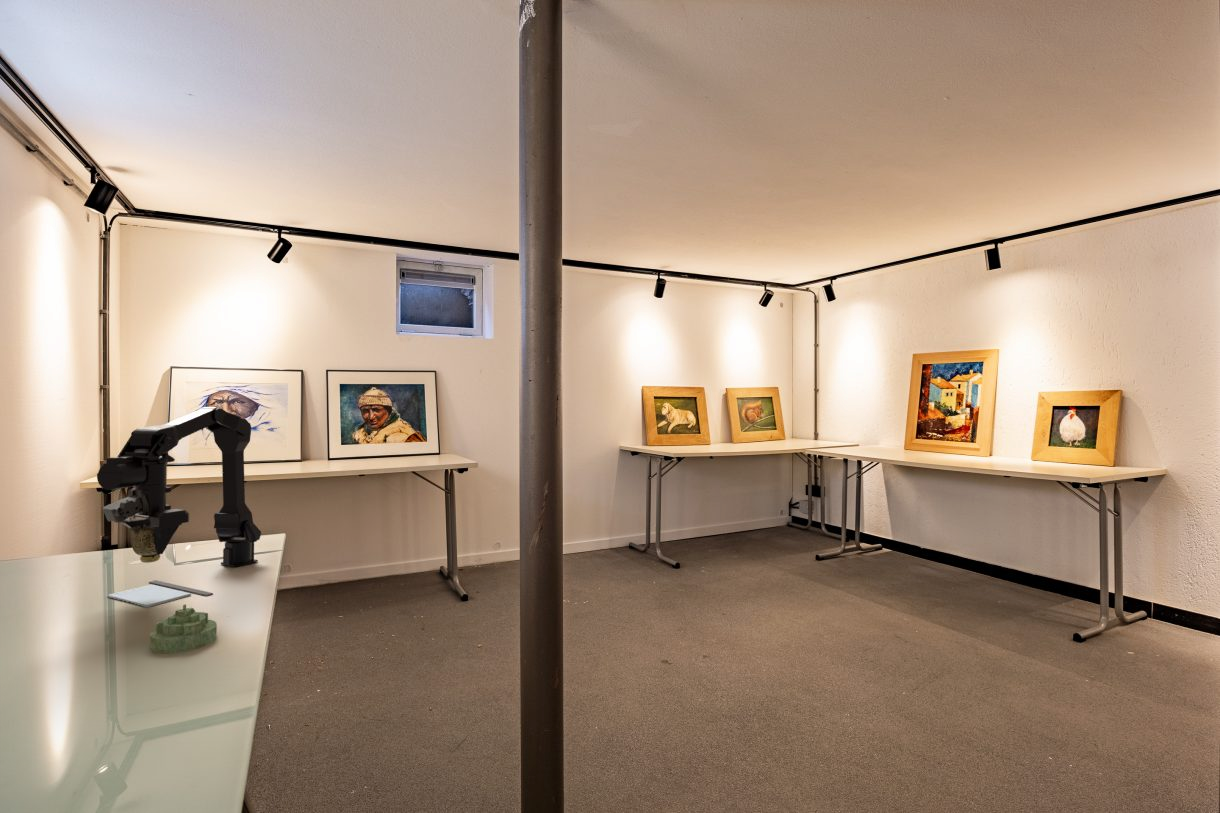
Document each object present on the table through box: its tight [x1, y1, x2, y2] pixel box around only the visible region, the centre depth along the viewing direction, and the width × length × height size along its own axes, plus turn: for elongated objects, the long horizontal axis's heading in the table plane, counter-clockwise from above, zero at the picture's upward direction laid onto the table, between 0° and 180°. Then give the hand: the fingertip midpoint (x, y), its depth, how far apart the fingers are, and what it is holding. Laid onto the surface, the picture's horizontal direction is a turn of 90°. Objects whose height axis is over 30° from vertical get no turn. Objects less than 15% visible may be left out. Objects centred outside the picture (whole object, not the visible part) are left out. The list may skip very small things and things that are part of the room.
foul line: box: [148, 579, 214, 597], centre depth 142 cm, size 2×22×1 cm, turn 66°
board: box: [106, 583, 192, 608], centre depth 136 cm, size 9×15×1 cm, turn 66°
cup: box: [128, 524, 161, 564], centre depth 136 cm, size 8×7×8 cm
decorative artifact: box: [149, 604, 218, 654], centre depth 111 cm, size 10×7×10 cm
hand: (150, 552), depth 136 cm, fingers closed on cup, 7 cm apart
